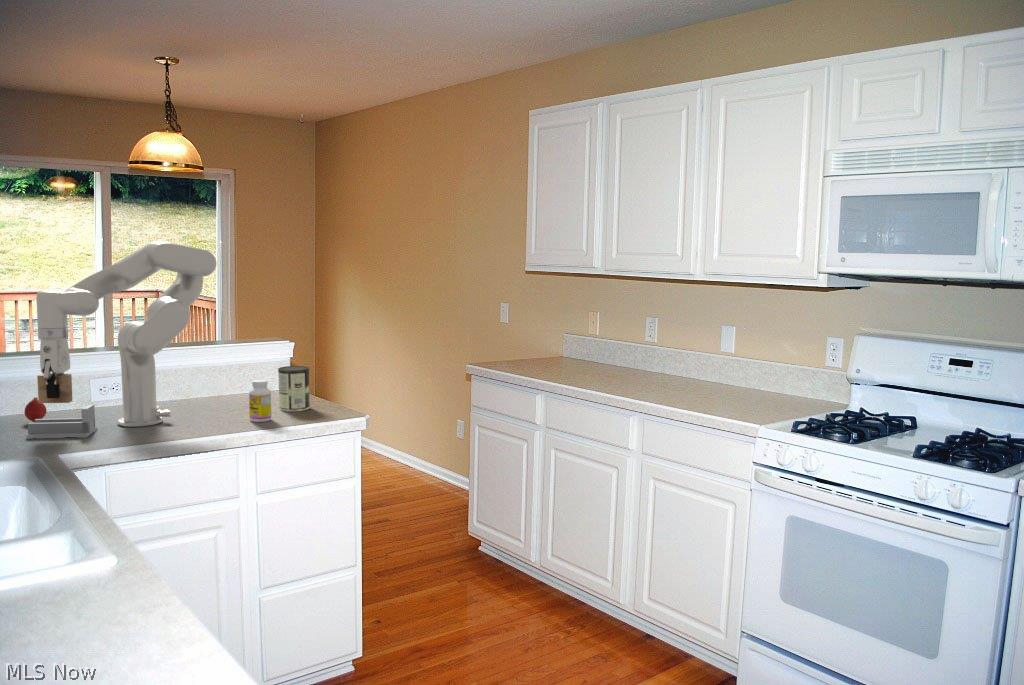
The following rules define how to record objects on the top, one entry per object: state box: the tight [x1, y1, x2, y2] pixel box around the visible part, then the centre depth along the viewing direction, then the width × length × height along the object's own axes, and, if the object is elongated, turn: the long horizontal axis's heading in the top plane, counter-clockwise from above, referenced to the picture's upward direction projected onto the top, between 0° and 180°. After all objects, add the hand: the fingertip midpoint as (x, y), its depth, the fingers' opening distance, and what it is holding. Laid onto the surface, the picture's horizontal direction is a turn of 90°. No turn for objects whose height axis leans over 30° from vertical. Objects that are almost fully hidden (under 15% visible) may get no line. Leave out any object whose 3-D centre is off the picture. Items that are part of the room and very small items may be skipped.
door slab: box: [36, 373, 73, 404], centre depth 231 cm, size 8×3×8 cm, turn 100°
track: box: [25, 404, 98, 440], centre depth 233 cm, size 16×9×8 cm, turn 100°
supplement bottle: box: [248, 379, 272, 423], centre depth 255 cm, size 7×7×13 cm
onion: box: [23, 396, 47, 423], centre depth 246 cm, size 6×6×8 cm
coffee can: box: [277, 365, 311, 413], centre depth 273 cm, size 10×10×14 cm
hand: (55, 396), depth 231 cm, fingers closed on door slab, 3 cm apart
